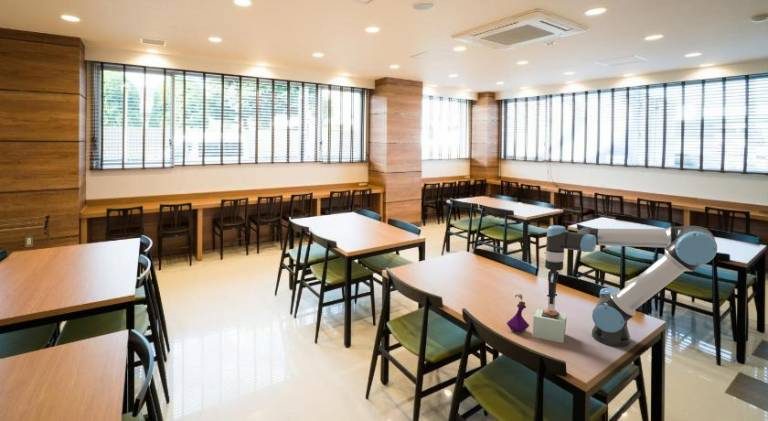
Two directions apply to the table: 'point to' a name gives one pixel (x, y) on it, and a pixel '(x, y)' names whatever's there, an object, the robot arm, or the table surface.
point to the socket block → (549, 326)
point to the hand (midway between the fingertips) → (551, 309)
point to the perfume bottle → (518, 318)
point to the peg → (550, 312)
